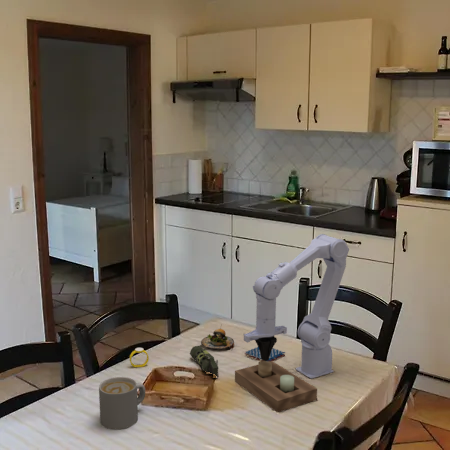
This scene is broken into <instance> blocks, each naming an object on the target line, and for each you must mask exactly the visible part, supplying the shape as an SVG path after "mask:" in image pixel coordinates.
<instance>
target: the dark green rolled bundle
mask: <svg viewBox="0 0 450 450" xmlns="http://www.w3.org/2000/svg"><path fill="white" fill-rule="evenodd" d="M189 356H190V357H191V359H193V361H194V362H195V361H196V362H197V363H198V364H199V366H200V367H201V369H202V370H203V372H204V371H206V372H210V373H212V374H215V375H216V376H217V378H218V377H219V366H218V365H219V362H218V359H216V360H215V357H214V356H213V355H212V354H211V353H210V352H209V351H207V349H205V348H203V347H202V346H201V345H195V346H192V348H190V351H189Z"/></svg>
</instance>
